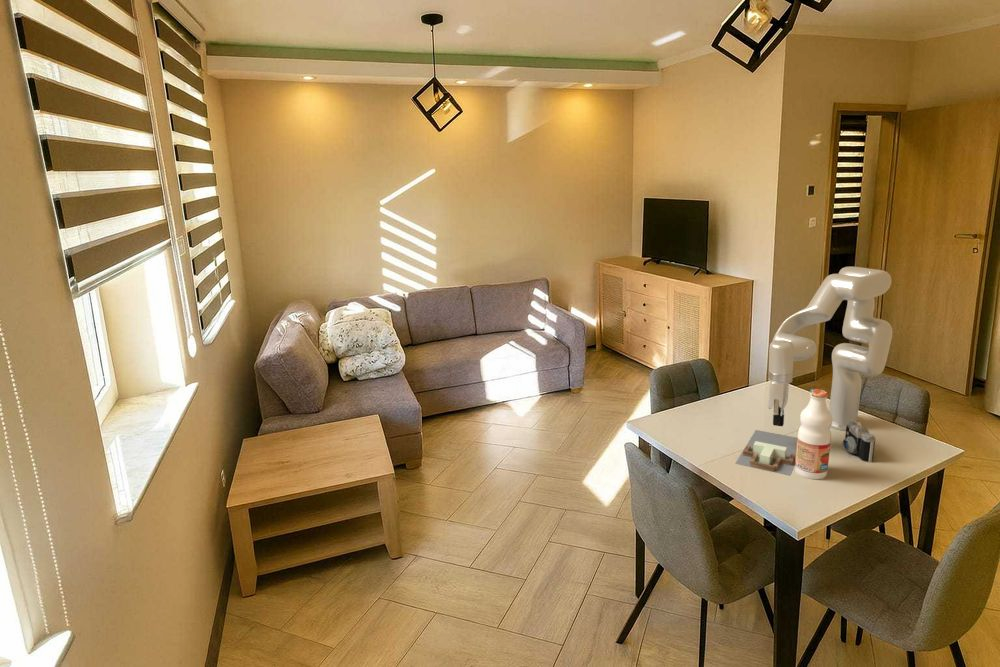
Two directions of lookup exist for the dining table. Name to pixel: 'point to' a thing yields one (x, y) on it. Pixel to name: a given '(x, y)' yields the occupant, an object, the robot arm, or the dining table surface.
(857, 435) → the camera
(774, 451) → the t block
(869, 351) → the robot arm
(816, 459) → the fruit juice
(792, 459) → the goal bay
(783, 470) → the mat
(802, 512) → the dining table surface
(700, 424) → the dining table surface
